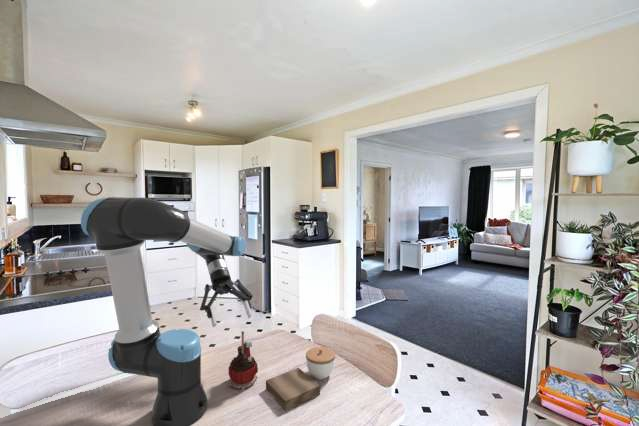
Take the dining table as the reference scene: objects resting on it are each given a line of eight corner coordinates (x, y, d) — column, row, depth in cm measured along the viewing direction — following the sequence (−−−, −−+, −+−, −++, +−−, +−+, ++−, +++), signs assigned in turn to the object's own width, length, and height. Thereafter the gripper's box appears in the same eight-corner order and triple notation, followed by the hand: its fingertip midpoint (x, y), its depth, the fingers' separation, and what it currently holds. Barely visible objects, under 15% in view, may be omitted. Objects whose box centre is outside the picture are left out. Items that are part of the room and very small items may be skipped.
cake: (226, 377, 108) (226, 328, 107) (252, 370, 112) (252, 323, 111) (232, 394, 98) (232, 340, 98) (260, 386, 103) (260, 334, 102)
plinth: (285, 410, 91) (285, 401, 91) (265, 389, 101) (265, 380, 101) (319, 394, 99) (320, 385, 99) (298, 375, 109) (298, 367, 109)
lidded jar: (335, 367, 115) (335, 343, 114) (334, 384, 104) (334, 357, 104) (307, 365, 116) (308, 341, 115) (303, 382, 105) (303, 356, 105)
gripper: (245, 273, 134) (260, 317, 122) (185, 283, 118) (196, 334, 107) (250, 264, 129) (266, 308, 118) (188, 272, 114) (200, 324, 103)
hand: (233, 321), depth 113 cm, fingers open, 13 cm apart
